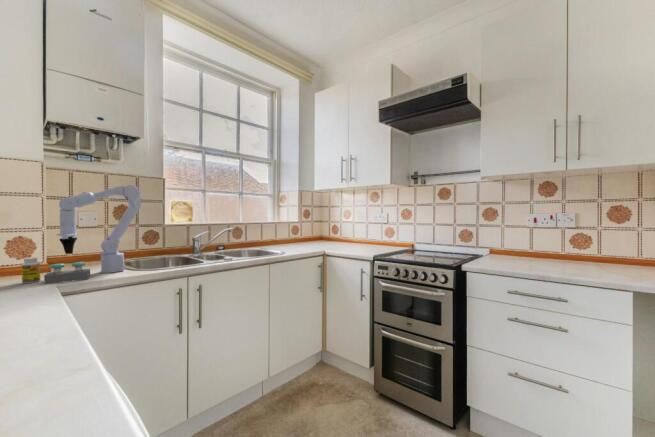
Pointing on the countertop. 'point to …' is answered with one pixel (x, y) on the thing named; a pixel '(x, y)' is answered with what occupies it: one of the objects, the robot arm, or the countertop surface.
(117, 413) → the countertop surface
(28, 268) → the supplement bottle
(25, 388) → the countertop surface
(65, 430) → the countertop surface
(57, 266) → the knob
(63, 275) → the panel box
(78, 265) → the knob
